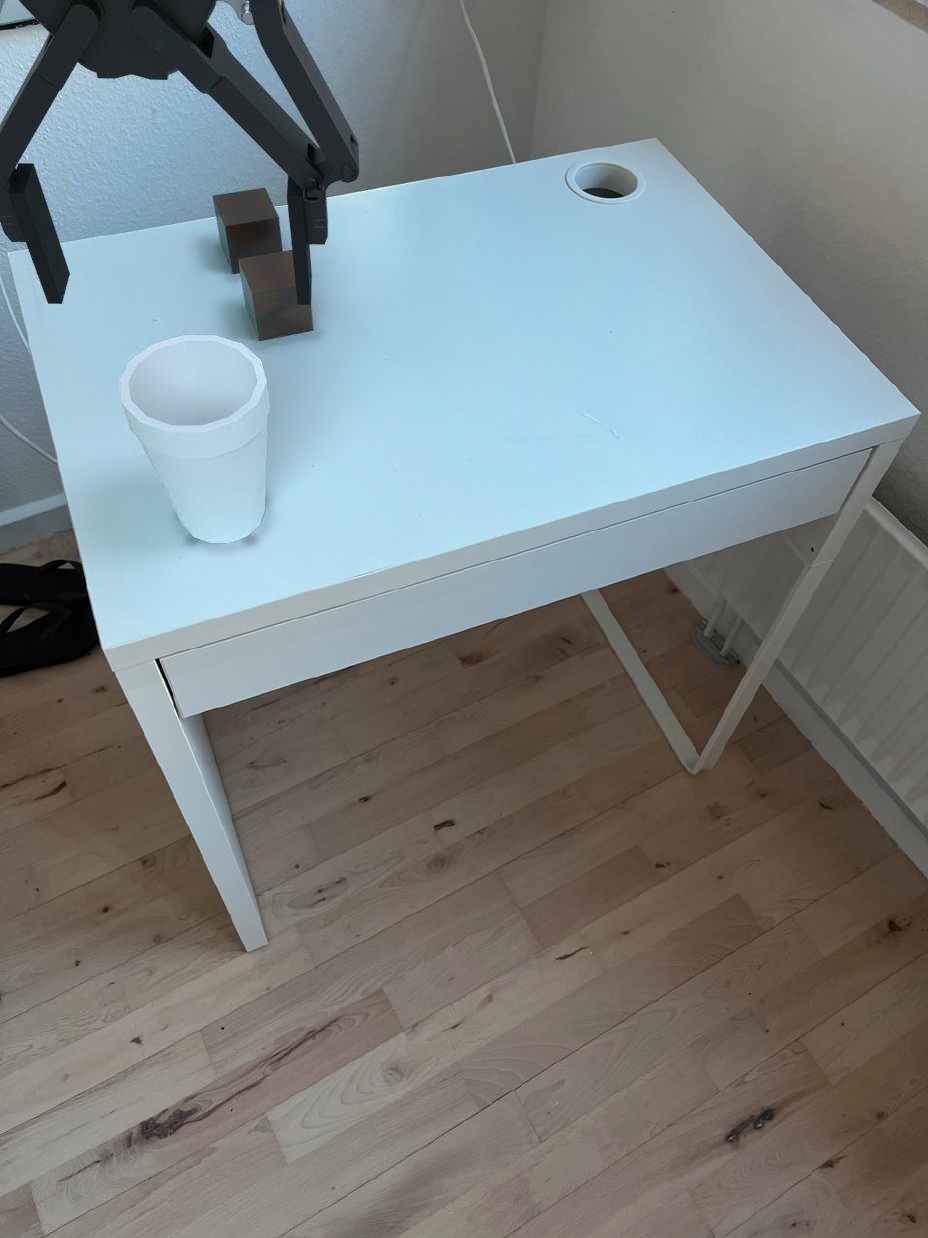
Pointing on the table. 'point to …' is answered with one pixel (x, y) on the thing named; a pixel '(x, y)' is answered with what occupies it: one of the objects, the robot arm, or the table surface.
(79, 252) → the table surface
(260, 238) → the walnut block far
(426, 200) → the table surface
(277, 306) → the walnut block near
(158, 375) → the foam cup
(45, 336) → the table surface
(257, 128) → the robot arm
